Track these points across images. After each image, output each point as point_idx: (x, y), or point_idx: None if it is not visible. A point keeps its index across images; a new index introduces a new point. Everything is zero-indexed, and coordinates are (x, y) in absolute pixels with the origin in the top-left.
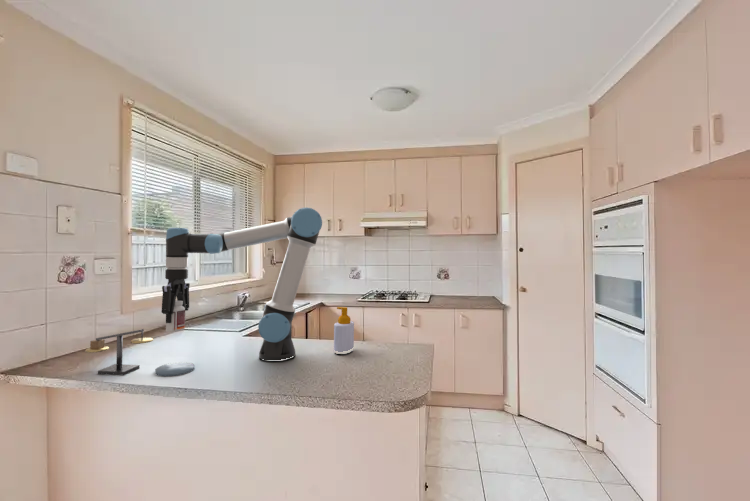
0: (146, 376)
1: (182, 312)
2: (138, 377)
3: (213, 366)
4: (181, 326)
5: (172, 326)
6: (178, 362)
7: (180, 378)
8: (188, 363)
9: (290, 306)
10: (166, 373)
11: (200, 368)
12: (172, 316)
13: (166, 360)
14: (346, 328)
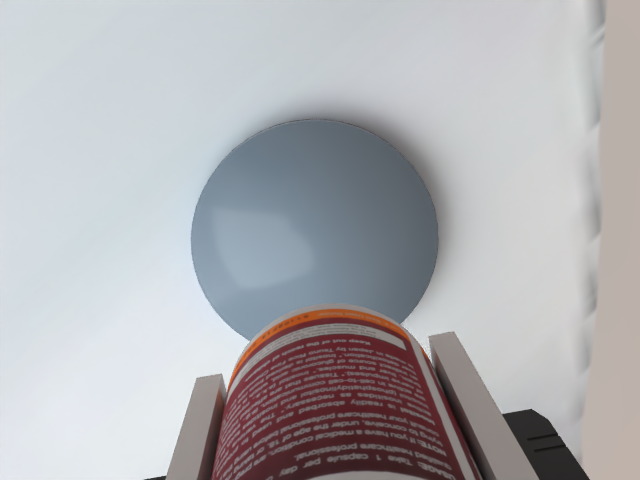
0: (458, 317)
1: (359, 446)
2: (484, 345)
3: (141, 42)
4: (354, 322)
5: (473, 369)
6: (215, 309)
7: (441, 83)
8: (209, 227)
9: None
10: (433, 209)
11: (217, 106)
12: (526, 462)
13: (156, 451)
14: None
